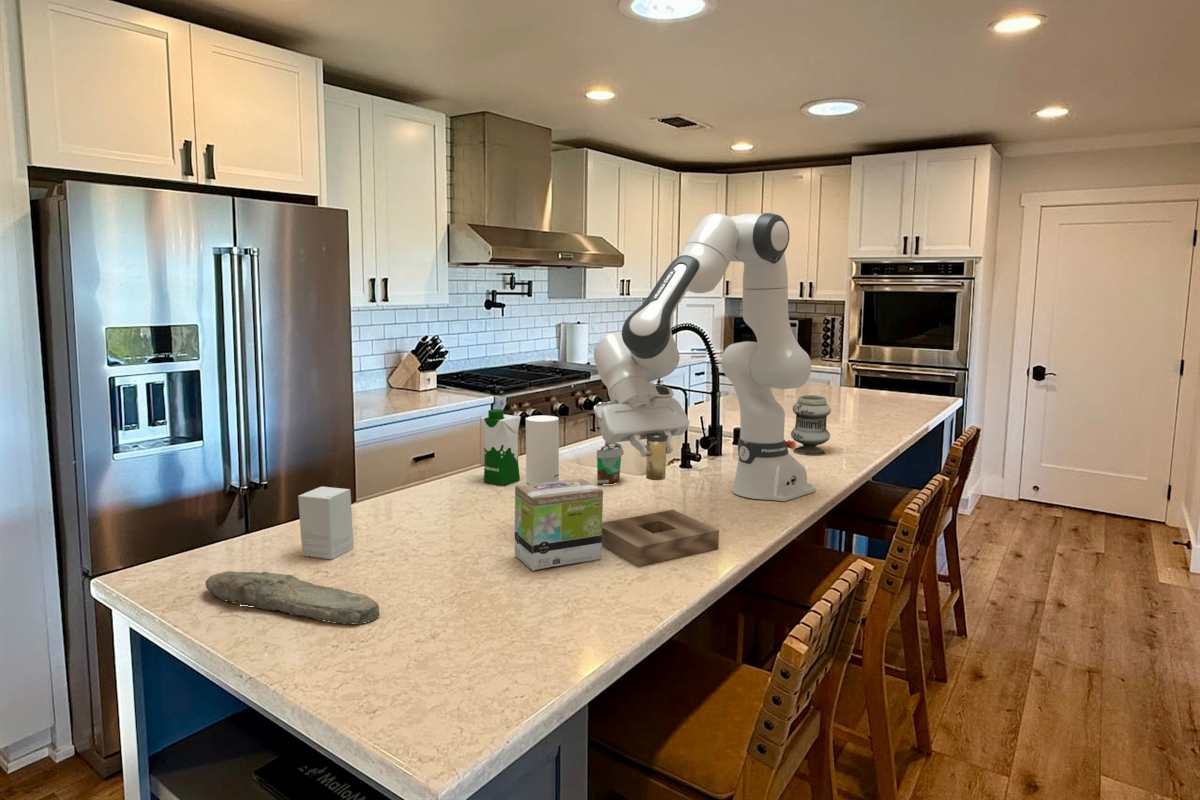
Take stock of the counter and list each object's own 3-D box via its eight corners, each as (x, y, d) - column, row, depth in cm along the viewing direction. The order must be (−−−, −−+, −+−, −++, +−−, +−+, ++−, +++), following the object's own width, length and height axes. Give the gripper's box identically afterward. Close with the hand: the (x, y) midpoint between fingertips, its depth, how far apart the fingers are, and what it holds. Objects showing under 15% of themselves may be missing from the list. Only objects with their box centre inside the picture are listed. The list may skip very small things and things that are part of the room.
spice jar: (658, 474, 159) (659, 432, 158) (669, 478, 156) (670, 435, 154) (642, 476, 157) (643, 434, 156) (653, 481, 154) (654, 437, 152)
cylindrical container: (564, 526, 170) (564, 417, 166) (549, 536, 163) (548, 422, 159) (536, 522, 173) (536, 414, 169) (520, 531, 166) (519, 419, 162)
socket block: (672, 526, 170) (672, 509, 170) (718, 548, 157) (719, 530, 156) (595, 542, 160) (595, 523, 159) (637, 566, 147) (637, 547, 146)
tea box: (533, 573, 143) (532, 497, 141) (513, 556, 152) (512, 484, 150) (603, 560, 150) (603, 487, 148) (581, 544, 159) (581, 475, 157)
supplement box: (355, 548, 156) (352, 488, 154) (331, 560, 149) (327, 498, 147) (325, 543, 158) (322, 485, 156) (300, 556, 151) (296, 494, 149)
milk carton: (478, 482, 205) (477, 410, 202) (500, 475, 213) (499, 405, 210) (504, 487, 201) (502, 413, 198) (525, 480, 208) (524, 408, 205)
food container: (619, 488, 201) (619, 451, 199) (596, 487, 202) (596, 450, 200) (626, 476, 213) (627, 441, 211) (605, 475, 214) (605, 440, 212)
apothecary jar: (791, 455, 239) (794, 399, 236) (788, 447, 251) (791, 393, 248) (831, 457, 237) (834, 400, 234) (826, 448, 249) (829, 394, 246)
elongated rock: (354, 643, 119) (393, 620, 128) (356, 611, 118) (394, 590, 127) (187, 598, 130) (233, 580, 140) (187, 568, 130) (233, 552, 139)
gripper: (596, 394, 154) (621, 450, 148) (677, 387, 165) (704, 440, 158) (585, 412, 159) (608, 467, 152) (665, 405, 169) (690, 456, 162)
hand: (658, 453), depth 155 cm, fingers closed on spice jar, 4 cm apart
